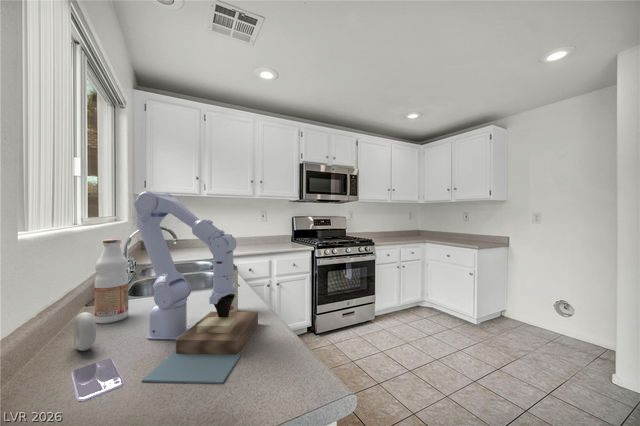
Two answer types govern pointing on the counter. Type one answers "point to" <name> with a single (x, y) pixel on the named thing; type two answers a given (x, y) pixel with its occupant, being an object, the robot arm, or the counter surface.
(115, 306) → the fruit juice
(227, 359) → the slate mat
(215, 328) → the wooden tile
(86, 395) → the mobile phone
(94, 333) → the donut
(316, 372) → the counter surface
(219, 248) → the robot arm
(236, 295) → the aerosol can
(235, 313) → the board
